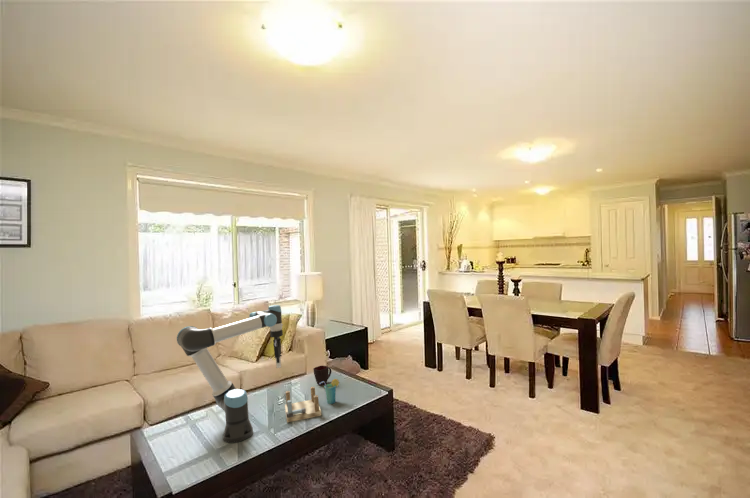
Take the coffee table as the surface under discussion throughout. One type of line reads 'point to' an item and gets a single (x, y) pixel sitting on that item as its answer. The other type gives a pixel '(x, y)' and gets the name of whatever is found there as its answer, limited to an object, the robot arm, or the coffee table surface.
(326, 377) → the mug
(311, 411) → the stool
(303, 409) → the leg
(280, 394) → the coffee table surface
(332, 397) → the cup
